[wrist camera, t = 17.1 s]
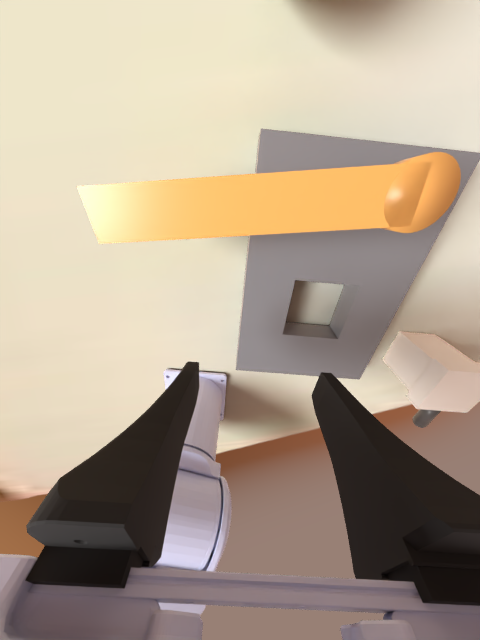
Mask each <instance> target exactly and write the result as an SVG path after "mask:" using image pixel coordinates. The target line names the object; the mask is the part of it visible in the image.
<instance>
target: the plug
mask: <svg viewBox="0 0 480 640" xmlns="http://www.w3.org/2000/svg"><path fill="white" fill-rule="evenodd" d="M382 360H383V361H384V362H385V364H386V365H387V366H388V367H389V368H390V369H391V370H392V372H393V373H394V374H395V375H396V376H397V377H398V378H399V380H400V381H401V382H402V383H403V384H404V385H405V387H406V388H407V389H408V390H409V392H408V393H407V395H406V397H407V398H408V399H409V400H410V402H411V403H412V404H413V405H414V406H415V408H416V409H420V410H419V411H418V412H417V413H416V414H415V416H414V417H413V422H414V424H415V425H416V426H418V427H421V428H423V427H426V426H427V425H428V424H429V423H430V422H431V421H432V420H433V419H434V418H435V417H436V416H437V415H438V414H439V413H440V412H441V411H450V412H463V413H467V412H469V411H470V410H471V409H472V408H473V407H474V406H475V405H476V404H477V403H478V402H479V401H480V362H474V361H473V360H472V359H470V358H469V357H467V356H466V355H464V354H463V353H462V352H460V351H459V350H457V349H456V348H454V347H453V346H451V345H450V344H449V343H447V342H446V341H444V340H443V339H441V338H440V337H439V336H437V335H436V334H425V333H414V332H402V331H399V332H398V334H397V336H396V337H395V339H394V341H393V342H392V344H391V346H390V348H389V349H388V351H387V353H386V354H385V356H384V358H383V359H382Z"/></svg>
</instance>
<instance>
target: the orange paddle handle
mask: <svg viewBox="0 0 480 640" xmlns="http://www.w3.org/2000/svg"><path fill="white" fill-rule="evenodd" d="M460 180H461V172H460V167H459V164H458V162H457V161H456V159H455V158H454V157H453V156H451V155H450V154H447V153H444V152H432V153H428V154H424V155H420V156H416V157H412V158H408V159H404V160H401V161H399V162H396V163H394V164H388V165H374V166H360V167H345V168H331V169H317V170H302V171H288V172H274V173H259V174H245V175H231V176H216V177H202V178H188V179H173V180H159V181H144V182H130V183H116V184H101V185H87V186H77V189H78V191H79V194H80V196H81V199H82V201H83V204H84V207H85V209H86V212H87V214H88V217H89V219H90V222H91V225H92V227H93V230H94V232H95V235H96V237H97V240H98V243H99V244H105V243H123V242H141V241H158V240H176V239H194V238H212V237H229V236H247V235H265V234H282V233H300V232H318V231H335V230H353V229H371V228H381V229H385V230H390V231H395V232H400V233H413V232H417V231H420V230H423V229H425V228H427V227H428V226H430V225H432V224H433V223H434V222H436V221H437V220H438V219H439V218H440V217H441V216H442V215H443V214H444V213H445V212H446V211H447V210H448V208H449V207H450V205H451V204H452V202H453V201H454V199H455V197H456V195H457V192H458V189H459V186H460Z"/></svg>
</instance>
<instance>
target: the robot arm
mask: <svg viewBox="0 0 480 640" xmlns="http://www.w3.org/2000/svg"><path fill="white" fill-rule="evenodd" d="M164 379H165V386H166V390H165V392H164V393H163V394H162V395H161V396H160V397H159V398H158V399H157V400H156V401H155V403H154V404H153V405H152V406H151V407H150V408H149V409H148V410H147V411H146V412H145V413H144V414H143V415H141V416H140V417H139V418H138V419H137V420H136V421H135V422H134V423H133V424H132V425H130V426H129V427H128V428H127V429H126V430H125V431H124V432H122V433H121V434H120V435H119V436H117V437H116V438H115V439H114V440H112V441H111V442H110V443H108V444H107V445H106V446H105V447H103V448H102V449H101V450H99V451H98V452H97V453H95V454H94V455H93V456H91V457H90V458H89V459H87V460H86V461H84V462H83V463H81V464H80V465H78V466H77V467H75V468H74V469H73V470H71V471H70V472H68V473H67V474H65V475H64V476H62V477H61V478H60V479H59V480H58V482H57V483H56V484H55V485H54V487H53V488H52V489H51V490H50V492H49V493H48V495H47V496H46V497H45V499H44V501H43V502H42V503H41V505H40V506H39V508H38V510H37V511H36V512H35V514H34V515H33V517H32V519H31V520H30V522H29V523H28V524H27V533H29V534H30V535H31V536H32V537H34V538H35V539H36V540H38V541H39V542H41V543H42V544H44V545H45V547H44V549H43V550H42V552H41V554H40V556H39V557H38V558H37V557H33V556H27V555H9V554H0V640H201V638H202V628H203V622H202V620H201V617H200V615H201V614H202V612H203V611H204V609H205V606H206V605H219V606H220V605H221V606H241V607H262V608H285V609H305V610H326V611H347V612H368V613H386V614H385V615H384V617H383V620H368V621H366V620H364V621H360V622H359V623H355V624H350V625H342V626H341V634H342V638H343V640H480V495H478V494H477V493H475V492H474V491H472V490H470V489H469V488H467V487H465V486H464V485H462V484H461V483H459V482H458V481H456V480H455V479H453V478H452V477H450V476H449V475H447V474H446V473H445V472H443V471H442V470H440V469H439V468H437V467H436V466H434V465H433V464H432V463H430V462H429V461H427V460H426V459H425V458H423V457H422V456H421V455H419V454H418V453H417V452H416V451H414V450H413V449H412V448H410V447H409V446H408V445H406V444H405V443H404V442H403V441H401V440H400V439H399V438H398V437H397V436H395V435H394V434H393V433H392V432H391V431H389V430H388V429H387V428H386V427H385V426H384V425H383V424H381V423H380V422H379V421H378V420H377V419H376V418H375V417H374V416H373V415H372V414H371V413H370V412H369V411H368V410H367V409H366V408H365V407H364V406H363V405H362V404H361V403H360V402H359V401H358V400H357V399H356V398H355V397H354V396H353V395H352V394H351V393H350V392H349V391H348V390H347V389H346V388H345V387H344V386H343V385H342V384H341V383H340V381H339V380H338V379H337V378H336V377H335V376H334V375H333V374H332V373H326V372H321V374H320V376H319V379H318V381H317V383H316V386H315V388H314V391H313V393H312V399H313V404H314V409H315V413H316V416H317V419H318V422H319V425H320V428H321V431H322V434H323V437H324V440H325V442H326V445H327V448H328V451H329V454H330V457H331V461H332V464H333V468H334V472H335V476H336V480H337V485H338V489H339V494H340V498H341V503H342V507H343V513H344V518H345V523H346V527H347V533H348V539H349V545H350V550H351V556H352V563H353V570H354V574H355V577H356V579H348V578H326V577H309V576H308V577H307V576H289V575H270V574H269V575H268V574H251V573H250V574H249V573H230V572H215V571H216V568H217V565H218V563H219V560H220V558H221V556H222V554H223V552H224V549H225V546H226V542H227V539H228V534H229V529H230V521H231V495H230V491H229V488H228V484H227V482H226V479H224V477H222V476H220V467H221V464H219V463H216V462H215V456H216V448H217V439H218V431H219V422H220V421H221V420H223V419H224V408H225V394H226V381H227V375H226V374H223V373H211V372H199V362H187V363H186V364H185V366H184V367H183V369H182V370H171V369H166V370H165V371H164Z"/></svg>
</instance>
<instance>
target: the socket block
mask: <svg viewBox="0 0 480 640" xmlns="http://www.w3.org/2000/svg"><path fill="white" fill-rule="evenodd" d="M432 152H444V153H447V154H450V155H451V156H453V157H454V158H455V159H456V161H457V162H458V164H459V167H460V172H461V180H460V186H459V189H458V192H457V195H456V197H455V199H454V201H453V202H452V204H451V205H450V207H449V208H448V210H447V211H446V212H445V213H444V214H443V215H442V216H441V217H440V218H439V219H438V220H437V221H436V222H434V223H433V224H432V225H430V226H428V227H427V228H425V229H423V230H420V231H417V232H413V233H400V232H395V231H390V230H385V229H381V228H371V229H353V230H335V231H318V232H300V233H282V234H265V235H249V239H248V248H247V258H246V268H245V278H244V288H243V298H242V308H241V317H240V327H239V337H238V347H237V359H236V370H244V371H257V372H270V373H283V374H296V375H309V376H320V374H321V372H326V373H332V374H333V375H334V376H335V377H336V378H348V379H360V377H361V376H362V374H363V372H364V370H365V368H366V366H367V365H368V363H369V361H370V359H371V357H372V356H373V354H374V352H375V350H376V348H377V346H378V345H379V343H380V341H381V339H382V337H383V335H384V334H385V332H386V330H387V328H388V326H389V324H390V323H391V321H392V319H393V317H394V315H395V313H396V312H397V310H398V308H399V306H400V304H401V303H402V301H403V299H404V297H405V295H406V293H407V292H408V290H409V288H410V286H411V284H412V282H413V281H414V279H415V277H416V275H417V273H418V271H419V270H420V268H421V266H422V264H423V262H424V260H425V259H426V257H427V255H428V253H429V251H430V249H431V248H432V246H433V244H434V242H435V240H436V239H437V237H438V235H439V233H440V231H441V229H442V228H443V226H444V224H445V222H446V220H447V218H448V217H449V215H450V213H451V211H452V209H453V207H454V206H455V204H456V202H457V200H458V198H459V196H460V195H461V193H462V191H463V189H464V187H465V185H466V184H467V182H468V180H469V178H470V176H471V175H472V173H473V171H474V169H475V167H476V165H477V164H478V162H479V160H480V153H476V152H467V151H458V150H449V149H440V148H431V147H422V146H413V145H404V144H395V143H386V142H377V141H368V140H359V139H350V138H341V137H332V136H323V135H314V134H305V133H296V132H287V131H278V130H269V129H261V131H260V135H259V140H258V150H257V160H256V170H255V174H259V173H274V172H288V171H302V170H317V169H331V168H345V167H360V166H374V165H388V164H394V163H396V162H399V161H401V160H404V159H408V158H412V157H416V156H420V155H424V154H428V153H432ZM295 280H300V281H311V282H322V283H333V284H344V287H343V290H342V292H341V295H340V298H339V300H338V303H337V306H336V309H335V311H334V314H333V317H332V319H331V322H330V325H329V326H327V325H315V324H303V323H291V322H286V317H287V313H288V309H289V305H290V300H291V296H292V292H293V288H294V283H295Z"/></svg>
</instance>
